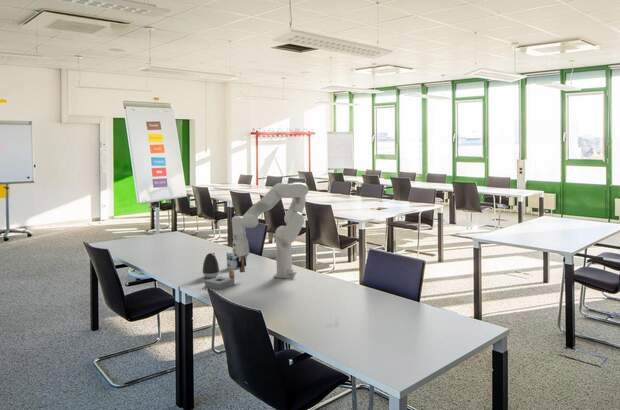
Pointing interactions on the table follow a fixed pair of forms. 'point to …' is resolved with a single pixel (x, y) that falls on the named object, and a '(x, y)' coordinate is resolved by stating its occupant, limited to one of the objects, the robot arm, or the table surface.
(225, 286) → the block
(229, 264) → the light bulb box
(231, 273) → the short pin
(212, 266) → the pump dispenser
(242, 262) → the long pin
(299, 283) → the table surface
